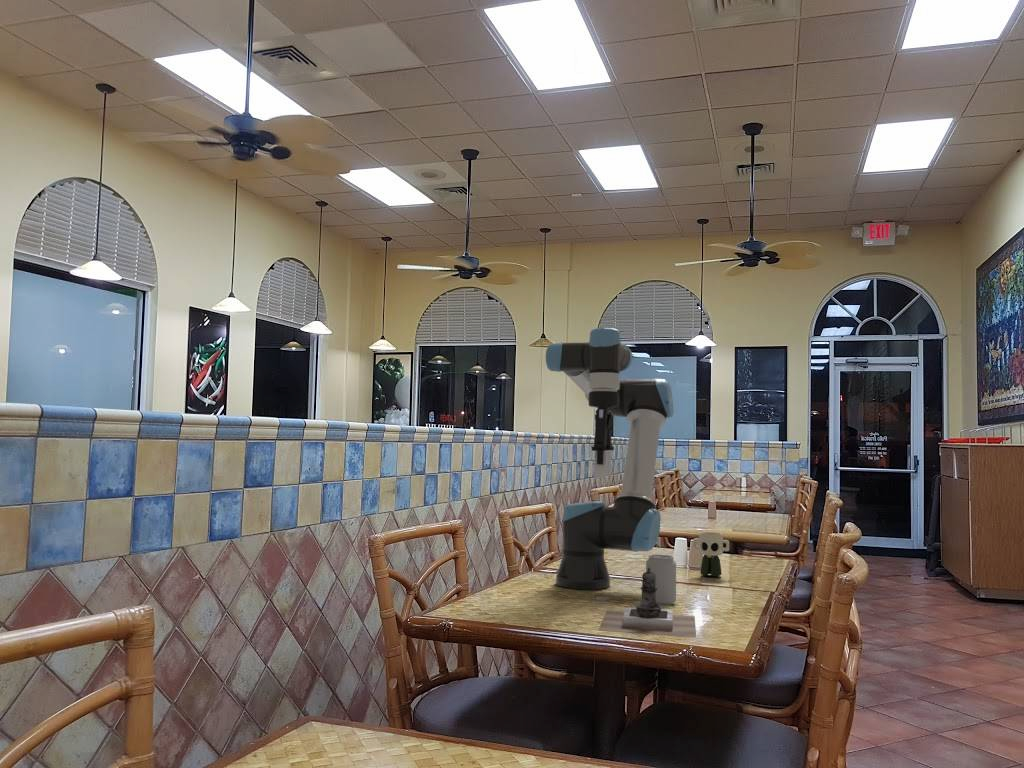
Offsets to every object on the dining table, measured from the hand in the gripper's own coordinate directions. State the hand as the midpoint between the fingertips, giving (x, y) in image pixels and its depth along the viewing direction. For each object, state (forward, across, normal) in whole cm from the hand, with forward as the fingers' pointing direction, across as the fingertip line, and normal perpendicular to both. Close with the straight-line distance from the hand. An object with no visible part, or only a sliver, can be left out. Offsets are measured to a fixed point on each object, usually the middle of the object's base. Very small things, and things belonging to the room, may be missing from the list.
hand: (602, 477), depth 196 cm
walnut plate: (+32, +17, +12) cm, 38 cm away
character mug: (+32, -57, +28) cm, 71 cm away
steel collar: (+30, +17, +12) cm, 37 cm away
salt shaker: (+31, +17, +12) cm, 37 cm away
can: (+32, -11, +14) cm, 37 cm away
